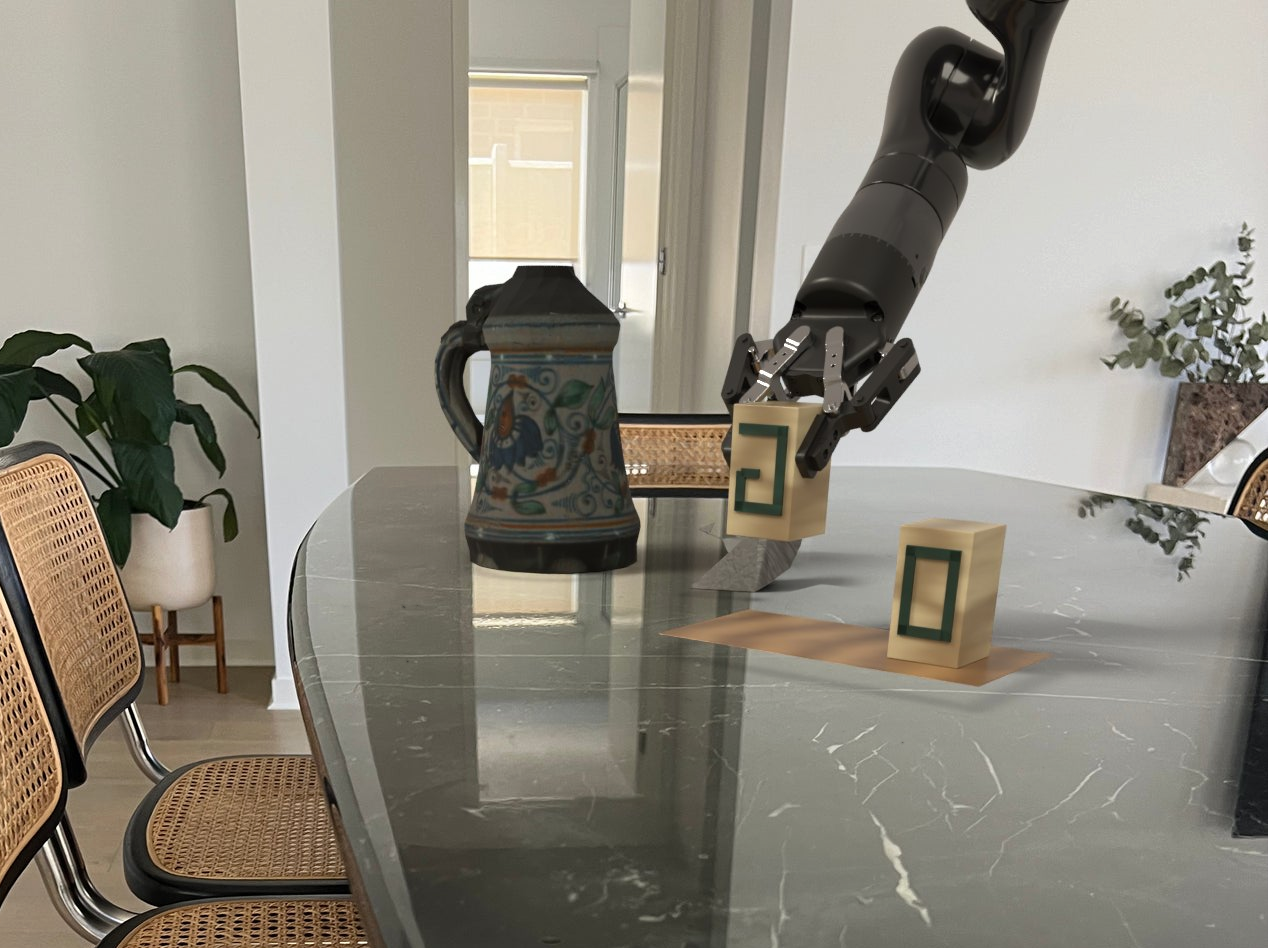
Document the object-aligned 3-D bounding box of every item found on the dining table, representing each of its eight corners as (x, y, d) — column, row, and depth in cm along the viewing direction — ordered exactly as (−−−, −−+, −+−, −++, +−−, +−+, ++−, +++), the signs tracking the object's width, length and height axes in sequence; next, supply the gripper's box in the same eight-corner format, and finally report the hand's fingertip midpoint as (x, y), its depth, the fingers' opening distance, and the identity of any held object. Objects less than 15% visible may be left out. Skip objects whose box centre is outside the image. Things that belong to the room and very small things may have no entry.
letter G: (825, 534, 102) (836, 404, 99) (787, 542, 98) (797, 407, 95) (763, 527, 105) (772, 400, 101) (724, 534, 101) (731, 403, 98)
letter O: (989, 656, 97) (1007, 524, 94) (955, 669, 94) (973, 532, 90) (920, 645, 100) (935, 517, 97) (884, 658, 96) (898, 525, 93)
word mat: (1051, 666, 98) (1053, 654, 98) (977, 699, 90) (978, 686, 90) (747, 619, 112) (748, 609, 112) (657, 644, 104) (657, 632, 103)
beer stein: (643, 575, 130) (653, 264, 120) (425, 572, 130) (417, 262, 120) (636, 547, 145) (645, 269, 135) (441, 545, 145) (435, 267, 135)
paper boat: (751, 585, 119) (658, 544, 123) (751, 639, 125) (661, 599, 128) (829, 494, 123) (736, 457, 127) (825, 551, 129) (736, 514, 132)
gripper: (763, 231, 103) (658, 421, 100) (953, 227, 95) (846, 434, 91) (795, 313, 109) (697, 495, 106) (976, 316, 101) (877, 514, 97)
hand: (767, 466), depth 98 cm, fingers closed on letter G, 5 cm apart
